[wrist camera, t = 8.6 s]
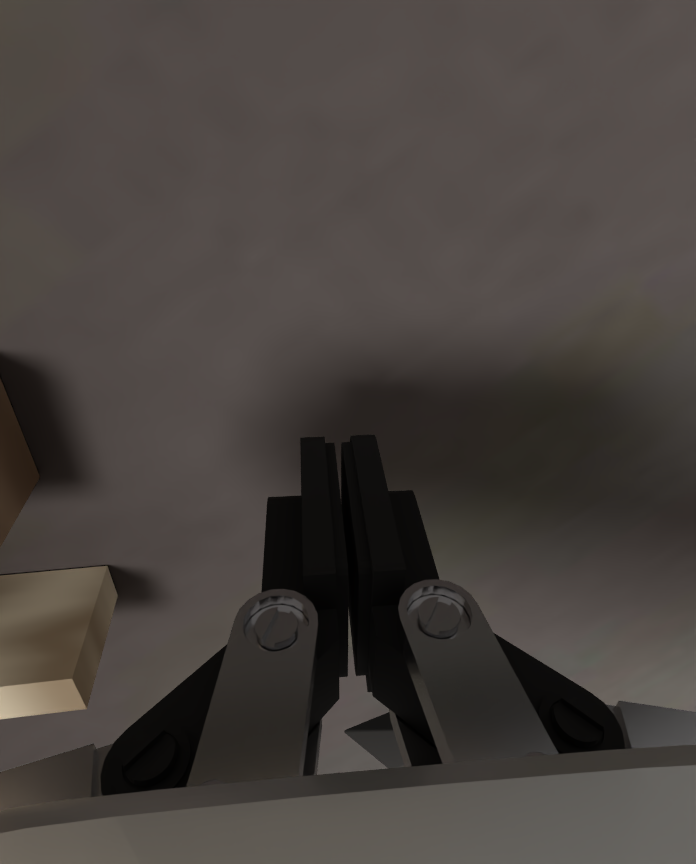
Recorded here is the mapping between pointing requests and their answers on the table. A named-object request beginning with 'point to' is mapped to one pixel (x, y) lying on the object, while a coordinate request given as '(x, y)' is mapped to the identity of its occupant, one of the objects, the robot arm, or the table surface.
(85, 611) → the light wooden angled piece
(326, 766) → the table surface
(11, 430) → the tee block
